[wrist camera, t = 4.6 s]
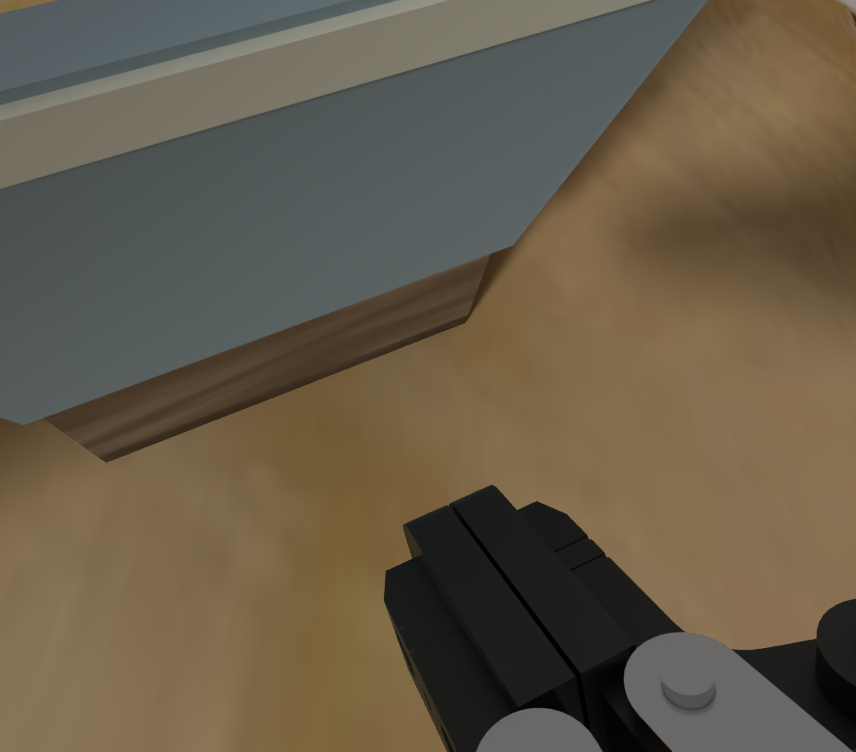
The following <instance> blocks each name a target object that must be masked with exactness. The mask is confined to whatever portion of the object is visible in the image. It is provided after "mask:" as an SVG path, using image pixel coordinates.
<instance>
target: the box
mask: <svg viewBox="0 0 856 752" xmlns="http://www.w3.org/2000/svg"><path fill="white" fill-rule="evenodd" d="M490 255H491V254H488V255H486V256H483V257H480V258H478V259H475V260H472V261H469V262H467V263H464V264H461V265H459V266H456V267H453V268H450V269H448V270H445V271H442V272H439V273H437V274H434V275H431V276H429V277H426V278H423V279H420V280H418V281H415V282H412V283H410V284H407V285H404V286H401V287H399V288H396V289H393V290H390V291H388V292H385V293H382V294H380V295H377V296H374V297H371V298H369V299H366V300H363V301H361V302H358V303H355V304H352V305H350V306H347V307H344V308H341V309H339V310H336V311H333V312H331V313H328V314H325V315H322V316H320V317H317V318H314V319H312V320H309V321H306V322H303V323H301V324H298V325H295V326H292V327H290V328H287V329H284V330H282V331H279V332H276V333H273V334H271V335H268V336H265V337H263V338H260V339H257V340H254V341H252V342H249V343H246V344H243V345H241V346H238V347H235V348H233V349H230V350H227V351H224V352H222V353H219V354H216V355H214V356H211V357H208V358H205V359H203V360H200V361H197V362H194V363H192V364H189V365H186V366H184V367H181V368H178V369H175V370H173V371H170V372H167V373H165V374H162V375H159V376H156V377H154V378H151V379H148V380H145V381H143V382H140V383H137V384H135V385H132V386H129V387H126V388H124V389H121V390H118V391H116V392H113V393H110V394H107V395H105V396H102V397H99V398H96V399H94V400H91V401H88V402H86V403H83V404H80V405H77V406H75V407H72V408H69V409H67V410H64V411H61V412H58V413H56V414H53V415H50V416H47V417H45V418H44V419H46V420H47V421H48V422H50V423H51V424H53V425H54V426H55V427H57V428H58V429H60V430H61V431H62V432H64V433H65V434H67V435H68V436H69V437H71V438H72V439H74V440H75V441H77V442H78V443H79V444H81V445H82V446H84V447H85V448H86V449H88V450H89V451H91V452H92V453H93V454H95V455H96V456H98V457H99V458H100V459H102V460H103V461H105V462H109V461H111V460H114V459H117V458H119V457H122V456H124V455H127V454H129V453H132V452H134V451H137V450H140V449H142V448H145V447H147V446H150V445H152V444H155V443H158V442H160V441H163V440H165V439H168V438H170V437H173V436H176V435H178V434H181V433H183V432H186V431H188V430H191V429H194V428H196V427H199V426H201V425H204V424H206V423H209V422H212V421H214V420H217V419H219V418H222V417H224V416H227V415H229V414H232V413H235V412H237V411H240V410H242V409H245V408H247V407H250V406H253V405H255V404H258V403H260V402H263V401H265V400H268V399H271V398H273V397H276V396H278V395H281V394H283V393H286V392H289V391H291V390H294V389H296V388H299V387H301V386H304V385H307V384H309V383H312V382H314V381H317V380H319V379H322V378H325V377H327V376H330V375H332V374H335V373H337V372H340V371H342V370H345V369H348V368H350V367H353V366H355V365H358V364H360V363H363V362H366V361H368V360H371V359H373V358H376V357H378V356H381V355H384V354H386V353H389V352H391V351H394V350H396V349H399V348H402V347H404V346H407V345H409V344H412V343H414V342H417V341H420V340H422V339H425V338H427V337H430V336H432V335H435V334H437V333H440V332H443V331H445V330H448V329H450V328H453V327H455V326H458V325H461V324H463V323H466V320H467V317H468V314H469V312H470V309H471V306H472V304H473V301H474V298H475V296H476V293H477V290H478V287H479V285H480V282H481V279H482V277H483V274H484V271H485V268H486V266H487V263H488V260H489V258H490Z"/></svg>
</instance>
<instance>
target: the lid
mask: <svg viewBox="0 0 856 752" xmlns="http://www.w3.org/2000/svg"><path fill="white" fill-rule="evenodd" d="M707 1H708V0H58V1H53V2H49V3H45V4H41V5H36V6H32V7H28V8H24V9H19V10H15V11H11V12H7V13H2V14H0V418H3V419H6V420H9V421H12V422H15V423H18V424H22V425H26V424H28V423H31V422H34V421H37V420H39V419H42V418H45V417H47V416H50V415H53V414H56V413H58V412H61V411H64V410H67V409H69V408H72V407H75V406H77V405H80V404H83V403H86V402H88V401H91V400H94V399H96V398H99V397H102V396H105V395H107V394H110V393H113V392H116V391H118V390H121V389H124V388H126V387H129V386H132V385H135V384H137V383H140V382H143V381H145V380H148V379H151V378H154V377H156V376H159V375H162V374H165V373H167V372H170V371H173V370H175V369H178V368H181V367H184V366H186V365H189V364H192V363H194V362H197V361H200V360H203V359H205V358H208V357H211V356H214V355H216V354H219V353H222V352H224V351H227V350H230V349H233V348H235V347H238V346H241V345H243V344H246V343H249V342H252V341H254V340H257V339H260V338H263V337H265V336H268V335H271V334H273V333H276V332H279V331H282V330H284V329H287V328H290V327H292V326H295V325H298V324H301V323H303V322H306V321H309V320H312V319H314V318H317V317H320V316H322V315H325V314H328V313H331V312H333V311H336V310H339V309H341V308H344V307H347V306H350V305H352V304H355V303H358V302H361V301H363V300H366V299H369V298H371V297H374V296H377V295H380V294H382V293H385V292H388V291H390V290H393V289H396V288H399V287H401V286H404V285H407V284H410V283H412V282H415V281H418V280H420V279H423V278H426V277H429V276H431V275H434V274H437V273H439V272H442V271H445V270H448V269H450V268H453V267H456V266H459V265H461V264H464V263H467V262H469V261H472V260H475V259H478V258H480V257H483V256H486V255H488V254H491V253H494V252H497V251H499V250H502V249H505V248H508V247H510V246H513V245H514V244H515V243H516V241H517V240H518V239H519V238H520V236H521V235H522V234H523V233H524V231H525V230H526V229H527V228H528V226H529V225H530V224H531V222H532V221H533V220H534V219H535V217H536V216H537V215H538V214H539V212H540V211H541V210H542V209H543V207H544V206H545V205H546V204H547V202H548V201H549V200H550V199H551V197H552V196H553V195H554V194H555V192H556V191H557V190H558V189H559V187H560V186H561V185H562V184H563V182H564V181H565V180H566V178H567V177H568V176H569V175H570V173H571V172H572V171H573V170H574V168H575V167H576V166H577V165H578V163H579V162H580V161H581V160H582V158H583V157H584V156H585V155H586V153H587V152H588V151H589V150H590V148H591V147H592V146H593V145H594V143H595V142H596V141H597V139H598V138H599V137H600V136H601V134H602V133H603V132H604V131H605V129H606V128H607V127H608V126H609V124H610V123H611V122H612V121H613V119H614V118H615V117H616V116H617V114H618V113H619V112H620V111H621V109H622V108H623V107H624V106H625V104H626V103H627V102H628V100H629V99H630V98H631V97H632V95H633V94H634V93H635V92H636V90H637V89H638V88H639V87H640V85H641V84H642V83H643V82H644V80H645V79H646V78H647V77H648V75H649V74H650V73H651V72H652V70H653V69H654V68H655V67H656V65H657V64H658V63H659V62H660V60H661V59H662V58H663V56H664V55H665V54H666V53H667V51H668V50H669V49H670V48H671V46H672V45H673V44H674V43H675V41H676V40H677V39H678V38H679V36H680V35H681V34H682V33H683V31H684V30H685V29H686V28H687V26H688V25H689V24H690V23H691V21H692V20H693V19H694V17H695V16H696V15H697V14H698V12H699V11H700V10H701V9H702V7H703V6H704V5H705V4H706V2H707Z"/></svg>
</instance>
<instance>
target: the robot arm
mask: <svg viewBox="0 0 856 752" xmlns="http://www.w3.org/2000/svg"><path fill="white" fill-rule="evenodd" d="M403 529H404V533H405V537H406V540H407V543H408V546H409V549H410V553H411V556H412V559H411V560H409V561H407V562H404V563H402V564H400V565H398V566H396V567H394V568H391V569H389V570H387V571H386V577H385V592H384V602H385V605H386V608H387V610H388V613H389V616H390V619H391V622H392V624H393V627H394V630H395V633H396V636H397V639H398V641H399V644H400V647H401V650H402V653H403V656H404V658H405V661H406V664H407V667H408V670H409V672H410V674H411V676H412V678H413V680H414V682H415V685H416V687H417V689H418V691H419V693H420V695H421V697H422V699H423V701H424V704H425V706H426V708H427V710H428V712H429V714H430V716H431V718H432V721H433V722H434V724H435V727H436V729H437V731H438V733H439V735H440V738H441V740H442V742H443V744H444V746H445V748H446V750H447V752H856V599H853V600H848V601H844V602H842V603H840V604H837V605H835V606H834V607H832V608H831V609H829V610H828V611H827V612H826V613H825V614H824V615H823V616H822V618H821V620H820V622H819V624H818V628H817V639H813V640H807V641H802V642H796V643H791V644H785V645H780V646H774V647H769V648H763V649H755V650H734V649H730V648H728V647H727V646H726V645H724V644H722V643H720V642H718V641H717V640H714V639H712V638H709V637H707V636H703V635H699V634H695V633H686V632H685V631H683V630H682V629H681V628H679V627H678V626H677V625H676V624H675V623H674V622H673V621H672V620H671V619H670V618H669V617H668V616H667V615H666V614H665V613H664V612H663V611H662V610H661V609H660V608H659V607H658V606H657V605H656V604H655V603H654V602H653V601H652V600H651V599H650V598H649V597H648V596H647V595H646V594H645V593H644V592H643V591H642V590H641V589H640V588H639V587H638V586H637V585H636V584H635V583H634V582H633V581H632V580H631V579H630V578H629V577H628V576H627V575H626V574H625V573H624V572H623V571H622V570H621V569H620V568H619V567H618V566H617V565H616V564H615V563H614V562H613V561H612V560H611V559H610V557H608V558H607V557H606V555H605V552H604V551H603V550H602V549H601V548H600V547H599V546H598V545H597V544H596V543H595V542H594V541H593V540H592V539H591V540H589V538H588V536H587V534H586V533H585V532H584V531H583V530H582V529H581V528H580V527H579V526H578V525H577V524H576V523H575V522H574V521H573V520H572V519H571V518H570V517H569V516H568V515H567V514H565V513H563V512H561V511H558V510H556V509H554V508H551V507H549V506H547V505H544V504H542V503H540V502H537V501H536V502H534V503H532V504H529V505H527V506H525V507H523V508H521V509H519V510H516V509H515V508H514V506H513V505H512V504H511V503H510V502H509V501H508V500H507V499H506V497H505V496H504V495H503V494H502V493H501V492H500V491H499V490H498V489H497V488H496V487H495V486H493V485H490V486H488V487H485V488H483V489H481V490H479V491H476V492H474V493H472V494H470V495H468V496H465V497H463V498H461V499H459V500H456V501H454V502H452V503H450V504H449V506H447V505H446V506H444V507H441V508H439V509H437V510H435V511H432V512H430V513H428V514H426V515H423V516H421V517H419V518H417V519H414V520H412V521H410V522H408V523H406V524H404V525H403Z"/></svg>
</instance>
